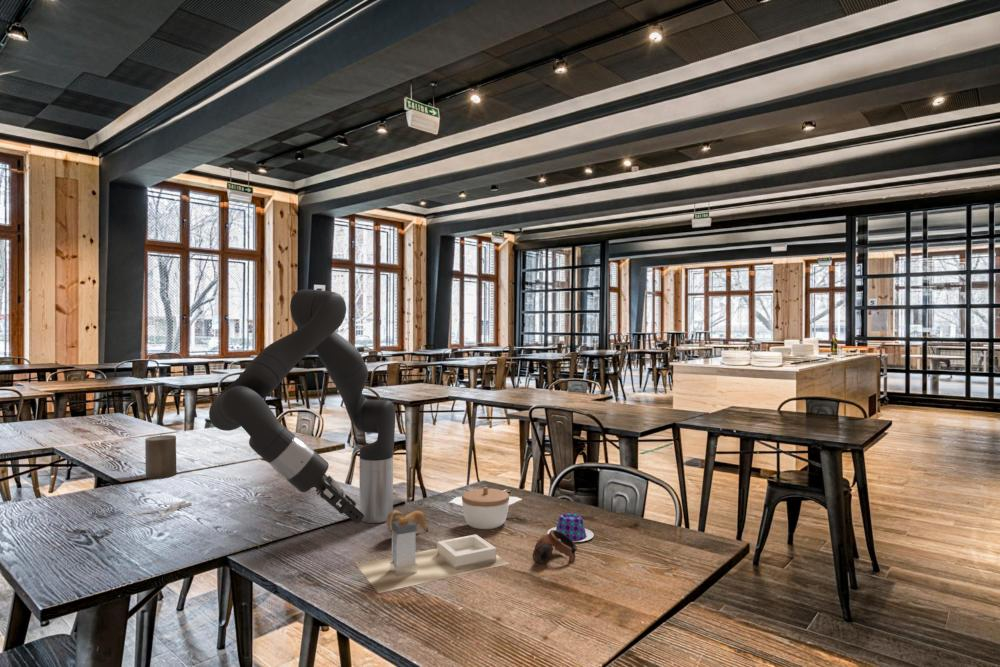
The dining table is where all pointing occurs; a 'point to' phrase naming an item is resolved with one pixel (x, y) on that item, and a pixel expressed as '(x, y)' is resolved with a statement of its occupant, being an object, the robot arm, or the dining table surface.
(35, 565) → the dining table surface
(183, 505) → the pliers
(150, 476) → the pillar candle
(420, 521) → the lion figurine
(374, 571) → the board
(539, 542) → the pottery mug
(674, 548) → the dining table surface
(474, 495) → the lidded bowl
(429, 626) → the dining table surface
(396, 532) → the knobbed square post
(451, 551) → the box
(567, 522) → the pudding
